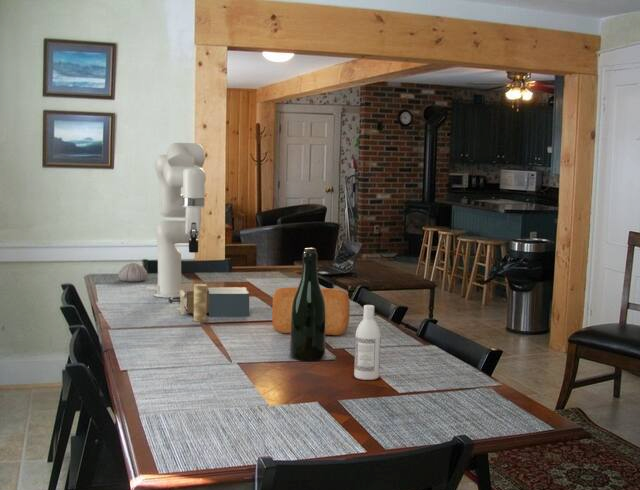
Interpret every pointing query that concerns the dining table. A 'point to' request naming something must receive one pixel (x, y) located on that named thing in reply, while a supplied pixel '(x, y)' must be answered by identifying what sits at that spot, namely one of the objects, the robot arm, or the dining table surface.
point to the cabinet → (228, 301)
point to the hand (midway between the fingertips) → (193, 250)
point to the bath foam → (367, 347)
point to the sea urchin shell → (133, 273)
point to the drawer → (189, 301)
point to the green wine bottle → (308, 313)
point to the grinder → (200, 302)
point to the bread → (334, 310)
